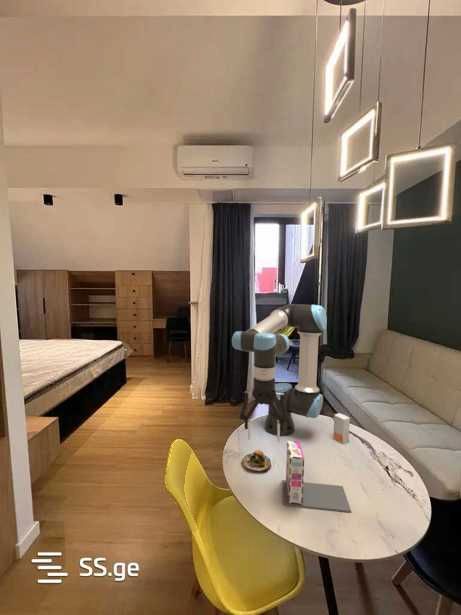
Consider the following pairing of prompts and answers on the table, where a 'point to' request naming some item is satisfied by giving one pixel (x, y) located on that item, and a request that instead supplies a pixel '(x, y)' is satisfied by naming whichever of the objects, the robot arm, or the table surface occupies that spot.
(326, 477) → the table surface
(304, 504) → the mat
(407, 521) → the table surface
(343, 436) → the skincare box
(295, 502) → the candy bar box
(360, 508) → the table surface
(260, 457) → the plate of food
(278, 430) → the robot arm
